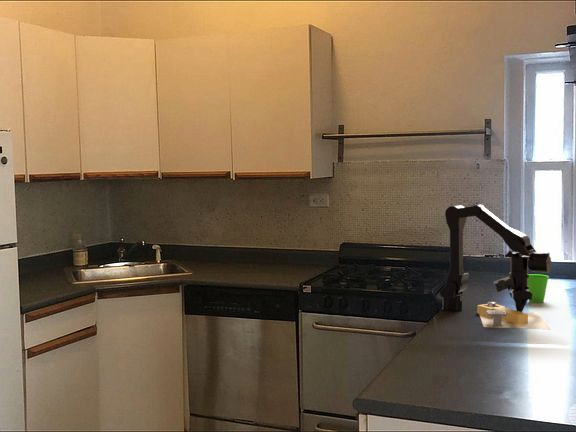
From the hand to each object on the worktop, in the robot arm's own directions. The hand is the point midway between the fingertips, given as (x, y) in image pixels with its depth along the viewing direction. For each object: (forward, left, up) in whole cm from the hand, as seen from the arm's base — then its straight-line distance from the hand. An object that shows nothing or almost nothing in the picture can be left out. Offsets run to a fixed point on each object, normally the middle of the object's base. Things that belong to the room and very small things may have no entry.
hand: (518, 314), depth 242 cm
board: (-3, -2, -2) cm, 4 cm away
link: (-5, +1, -1) cm, 5 cm away
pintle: (-9, +7, -1) cm, 11 cm away
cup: (+10, +31, -3) cm, 33 cm away
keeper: (-8, -10, -1) cm, 13 cm away
